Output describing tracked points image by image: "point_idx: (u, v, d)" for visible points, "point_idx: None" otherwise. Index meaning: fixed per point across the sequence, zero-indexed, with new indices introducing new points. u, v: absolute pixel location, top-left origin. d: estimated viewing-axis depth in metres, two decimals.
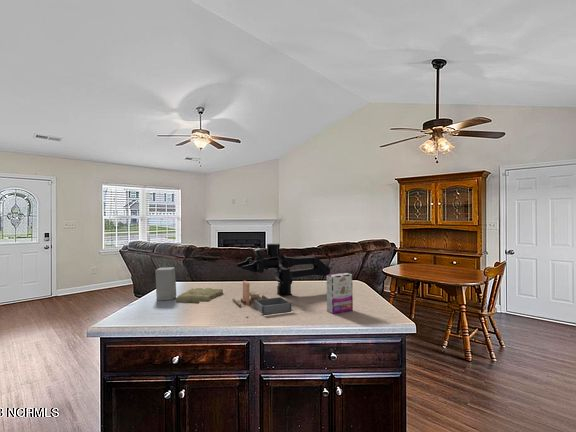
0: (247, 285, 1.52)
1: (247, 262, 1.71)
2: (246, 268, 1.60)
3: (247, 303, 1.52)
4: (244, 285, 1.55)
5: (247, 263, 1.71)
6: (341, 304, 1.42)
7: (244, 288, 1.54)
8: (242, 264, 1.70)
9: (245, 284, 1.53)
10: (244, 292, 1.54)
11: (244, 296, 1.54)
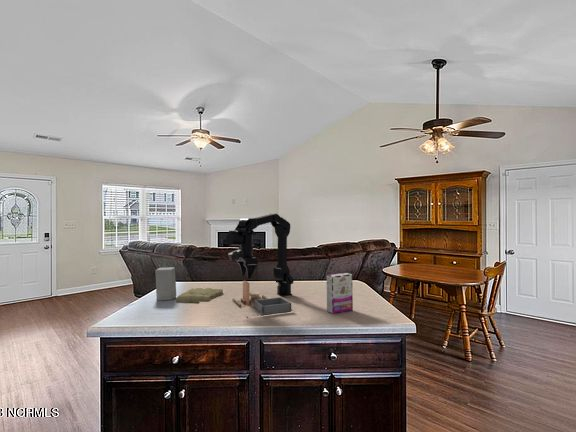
0: (247, 285, 1.52)
1: (241, 263, 1.59)
2: (250, 274, 1.50)
3: (247, 303, 1.52)
4: (244, 285, 1.55)
5: (242, 262, 1.59)
6: (341, 304, 1.42)
7: (244, 288, 1.54)
8: (243, 269, 1.59)
9: (245, 284, 1.53)
10: (244, 292, 1.54)
11: (244, 296, 1.54)
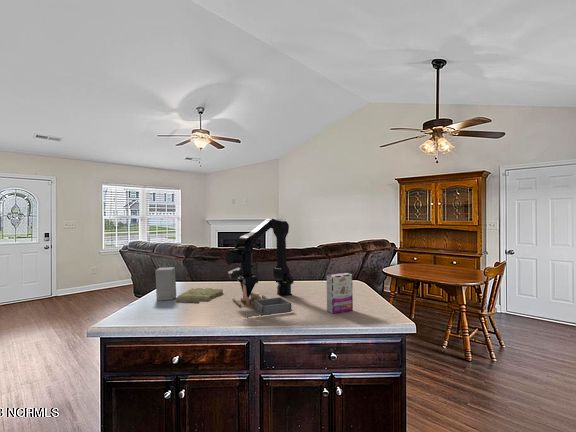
0: None
1: (242, 281, 1.57)
2: (249, 292, 1.51)
3: (247, 303, 1.52)
4: (244, 285, 1.55)
5: None
6: (341, 304, 1.42)
7: (244, 288, 1.54)
8: None
9: None
10: (244, 292, 1.54)
11: (244, 296, 1.54)
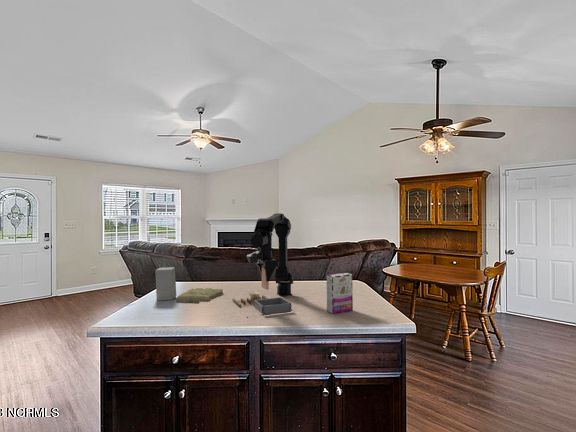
0: None
1: (261, 265, 1.50)
2: (269, 276, 1.44)
3: (266, 288, 1.45)
4: (262, 270, 1.48)
5: None
6: (341, 304, 1.42)
7: (263, 273, 1.48)
8: None
9: None
10: (263, 277, 1.47)
11: (263, 281, 1.47)
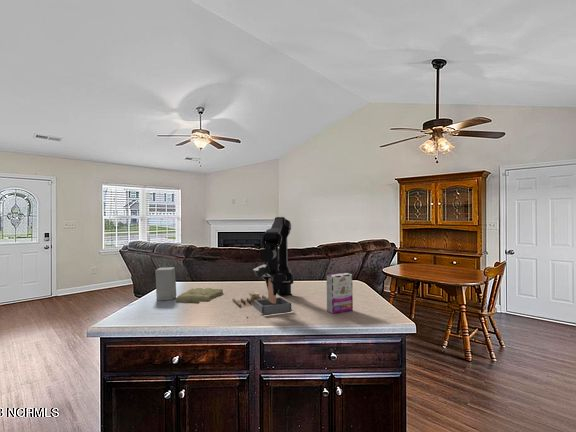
0: None
1: (267, 278, 1.48)
2: (276, 290, 1.42)
3: (274, 302, 1.43)
4: (269, 283, 1.46)
5: (269, 278, 1.49)
6: (341, 304, 1.42)
7: (270, 287, 1.46)
8: None
9: None
10: (270, 290, 1.46)
11: (270, 295, 1.45)
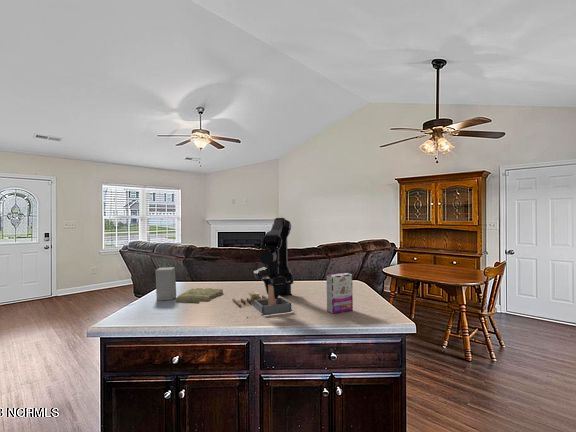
0: None
1: (266, 280, 1.50)
2: (277, 294, 1.41)
3: None
4: (269, 289, 1.46)
5: (267, 280, 1.50)
6: (341, 304, 1.42)
7: (270, 292, 1.45)
8: None
9: (271, 288, 1.44)
10: (270, 296, 1.45)
11: (270, 300, 1.45)
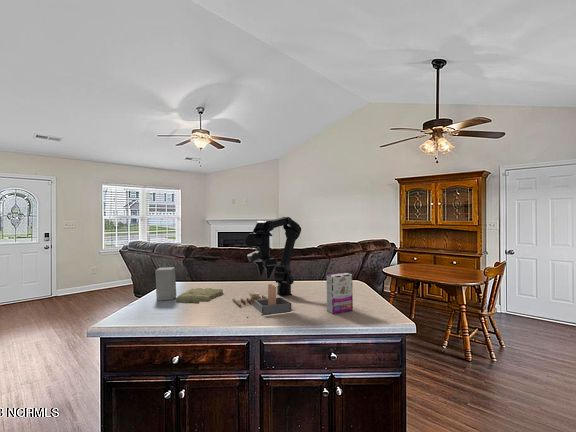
0: (274, 289, 1.43)
1: (258, 263, 1.66)
2: (269, 274, 1.57)
3: None
4: (269, 289, 1.46)
5: (260, 262, 1.66)
6: (341, 304, 1.42)
7: (270, 292, 1.45)
8: (260, 269, 1.66)
9: (271, 288, 1.44)
10: (270, 296, 1.45)
11: (270, 300, 1.45)
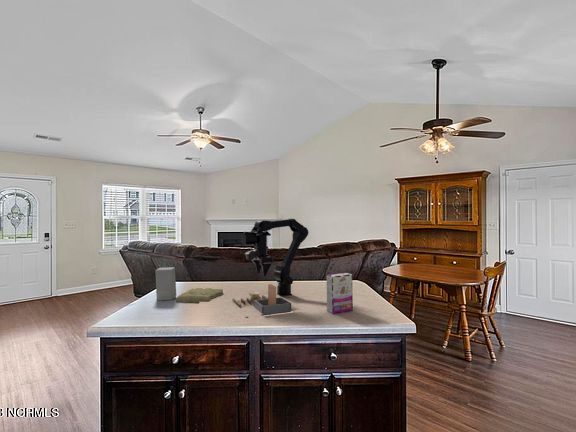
0: (274, 289, 1.43)
1: (256, 261, 1.71)
2: (266, 272, 1.62)
3: None
4: (269, 289, 1.46)
5: (258, 261, 1.72)
6: (341, 304, 1.42)
7: (270, 292, 1.45)
8: (258, 267, 1.71)
9: (271, 288, 1.44)
10: (270, 296, 1.45)
11: (270, 300, 1.45)
